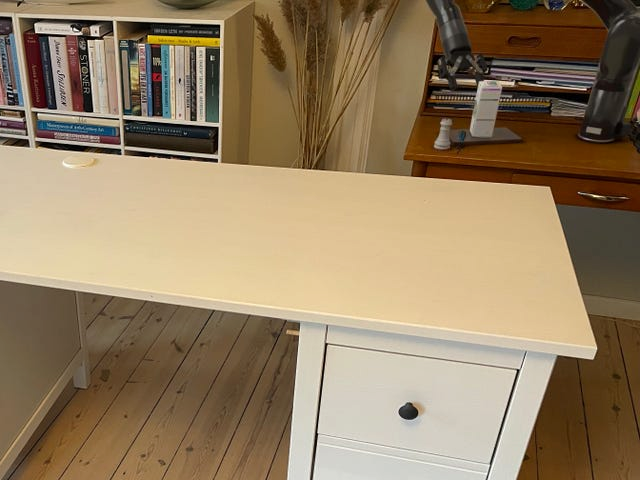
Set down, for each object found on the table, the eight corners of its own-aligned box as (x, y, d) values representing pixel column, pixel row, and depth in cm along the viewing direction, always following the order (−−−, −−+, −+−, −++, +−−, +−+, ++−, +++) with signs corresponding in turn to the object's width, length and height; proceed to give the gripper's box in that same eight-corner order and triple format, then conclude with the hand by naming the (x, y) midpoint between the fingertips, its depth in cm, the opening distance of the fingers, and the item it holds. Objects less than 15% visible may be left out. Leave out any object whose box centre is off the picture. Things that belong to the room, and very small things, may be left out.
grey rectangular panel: (505, 130, 222) (505, 127, 221) (521, 142, 213) (522, 138, 212) (439, 133, 221) (440, 130, 221) (453, 145, 212) (454, 142, 212)
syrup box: (492, 137, 214) (504, 86, 205) (470, 137, 215) (481, 85, 206) (489, 131, 218) (500, 80, 210) (468, 130, 219) (478, 80, 211)
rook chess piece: (430, 147, 211) (435, 119, 207) (440, 144, 213) (445, 116, 209) (443, 151, 208) (448, 123, 204) (453, 148, 210) (458, 120, 206)
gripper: (439, 33, 216) (453, 83, 214) (483, 29, 219) (497, 79, 216) (427, 48, 224) (439, 97, 221) (469, 45, 226) (482, 93, 223)
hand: (468, 88), depth 218 cm, fingers open, 8 cm apart
